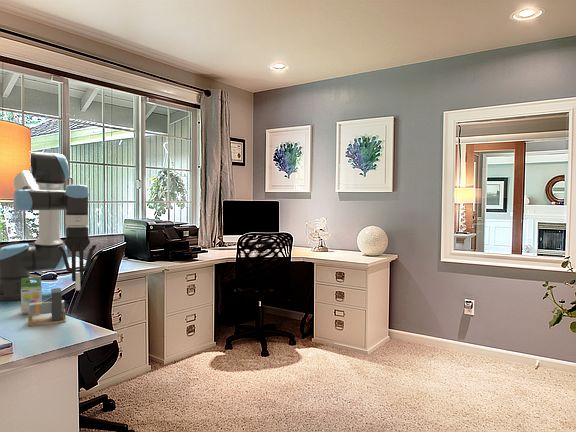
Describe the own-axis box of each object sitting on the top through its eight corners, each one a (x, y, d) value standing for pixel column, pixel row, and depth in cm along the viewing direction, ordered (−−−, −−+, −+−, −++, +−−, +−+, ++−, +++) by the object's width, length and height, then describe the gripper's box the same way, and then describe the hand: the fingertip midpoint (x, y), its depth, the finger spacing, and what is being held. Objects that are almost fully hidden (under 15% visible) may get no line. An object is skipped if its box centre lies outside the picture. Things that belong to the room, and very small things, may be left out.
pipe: (29, 313, 156) (29, 302, 155) (63, 309, 161) (63, 299, 161) (29, 316, 152) (29, 305, 152) (64, 312, 158) (64, 301, 157)
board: (28, 320, 157) (28, 311, 157) (64, 316, 163) (64, 308, 163) (28, 326, 150) (28, 317, 150) (65, 321, 156) (65, 313, 156)
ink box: (21, 314, 165) (20, 279, 164) (21, 312, 168) (21, 278, 167) (42, 312, 168) (41, 278, 168) (42, 310, 172) (41, 276, 171)
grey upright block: (51, 315, 161) (51, 288, 160) (60, 314, 162) (60, 287, 162) (52, 320, 154) (52, 292, 154) (61, 319, 155) (61, 292, 155)
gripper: (57, 227, 154) (58, 293, 155) (97, 226, 160) (98, 289, 161) (56, 226, 160) (57, 289, 161) (95, 225, 167) (95, 286, 168)
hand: (77, 289), depth 161 cm, fingers closed
